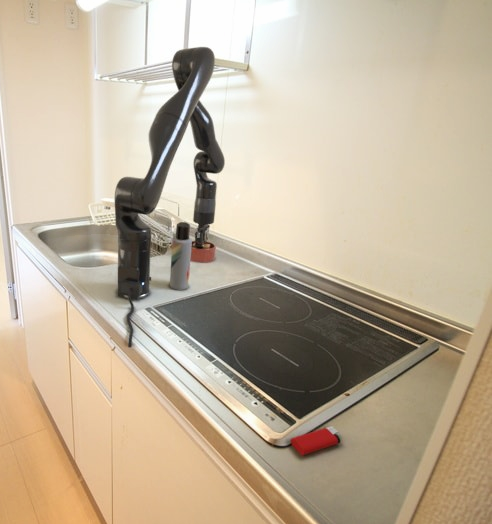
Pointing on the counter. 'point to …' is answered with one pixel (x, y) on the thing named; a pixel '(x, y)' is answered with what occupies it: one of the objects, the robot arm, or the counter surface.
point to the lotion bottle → (180, 257)
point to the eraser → (206, 246)
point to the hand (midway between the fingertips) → (200, 254)
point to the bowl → (203, 253)
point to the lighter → (316, 440)
